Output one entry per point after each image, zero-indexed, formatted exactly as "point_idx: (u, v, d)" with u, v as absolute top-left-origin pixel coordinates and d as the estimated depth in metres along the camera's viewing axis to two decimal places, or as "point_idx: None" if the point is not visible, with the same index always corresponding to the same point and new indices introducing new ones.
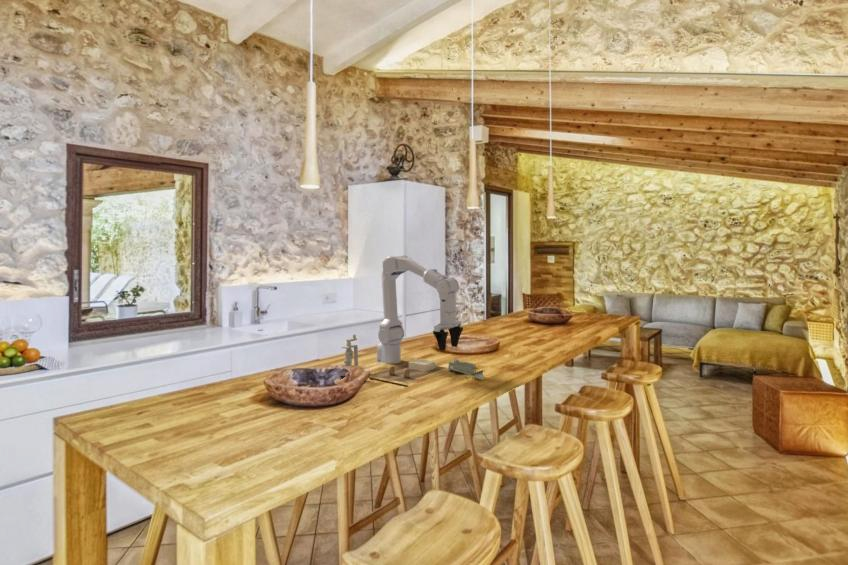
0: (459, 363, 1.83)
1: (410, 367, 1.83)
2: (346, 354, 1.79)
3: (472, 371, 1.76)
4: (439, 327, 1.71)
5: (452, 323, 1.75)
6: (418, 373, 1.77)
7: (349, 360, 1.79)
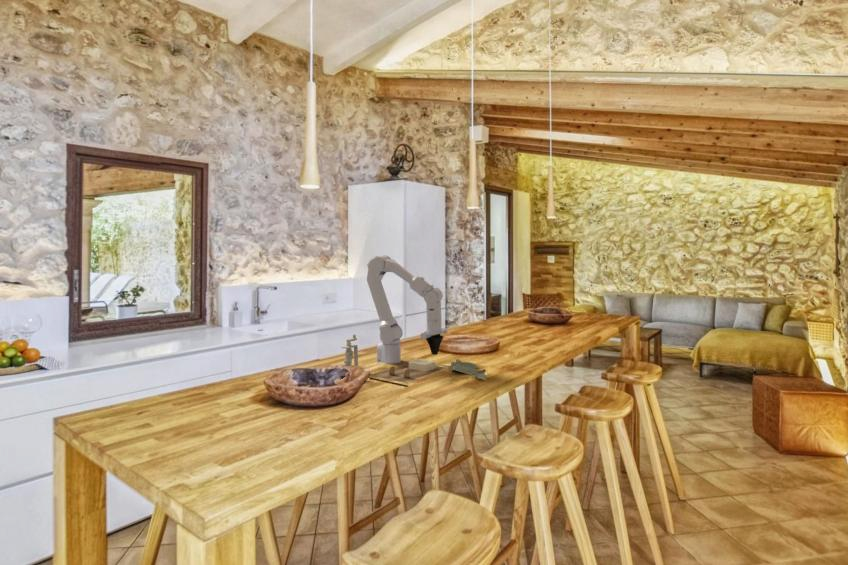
0: (461, 363, 1.83)
1: (410, 367, 1.83)
2: (346, 354, 1.79)
3: (474, 371, 1.75)
4: (425, 334, 1.83)
5: (438, 331, 1.86)
6: (418, 373, 1.77)
7: (349, 360, 1.79)
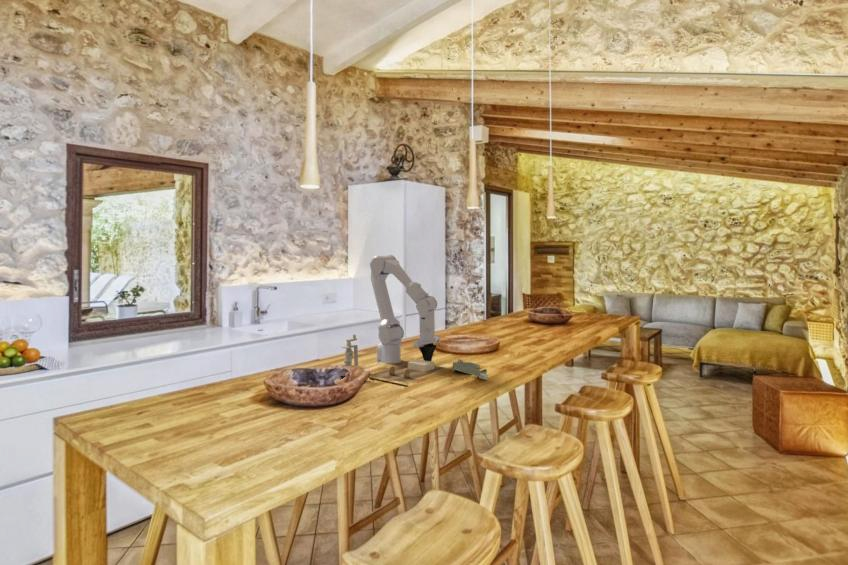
0: (463, 363, 1.83)
1: (409, 367, 1.83)
2: (346, 354, 1.79)
3: (476, 371, 1.75)
4: (418, 344, 1.80)
5: (431, 340, 1.83)
6: (418, 373, 1.77)
7: (349, 360, 1.79)
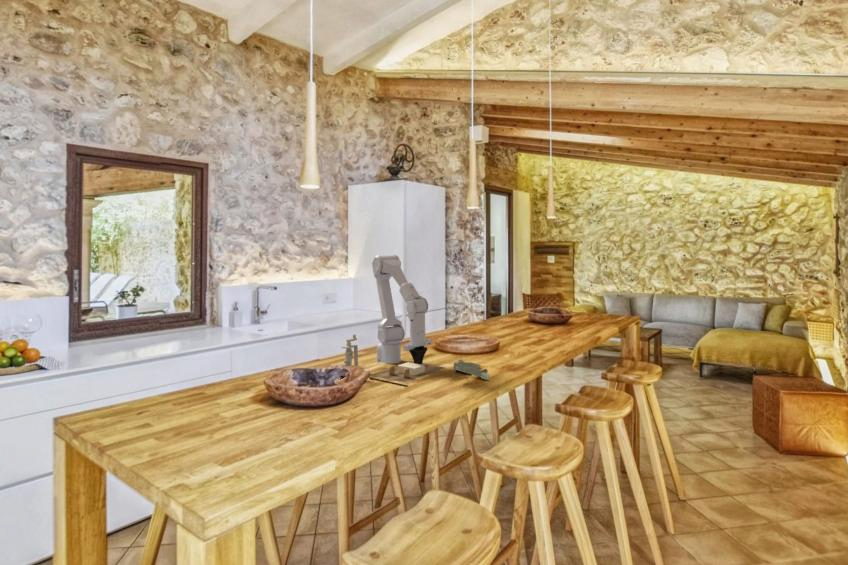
0: (464, 363, 1.82)
1: (399, 371, 1.78)
2: (346, 354, 1.79)
3: (478, 371, 1.75)
4: (408, 347, 1.75)
5: (421, 342, 1.79)
6: None
7: (349, 360, 1.79)
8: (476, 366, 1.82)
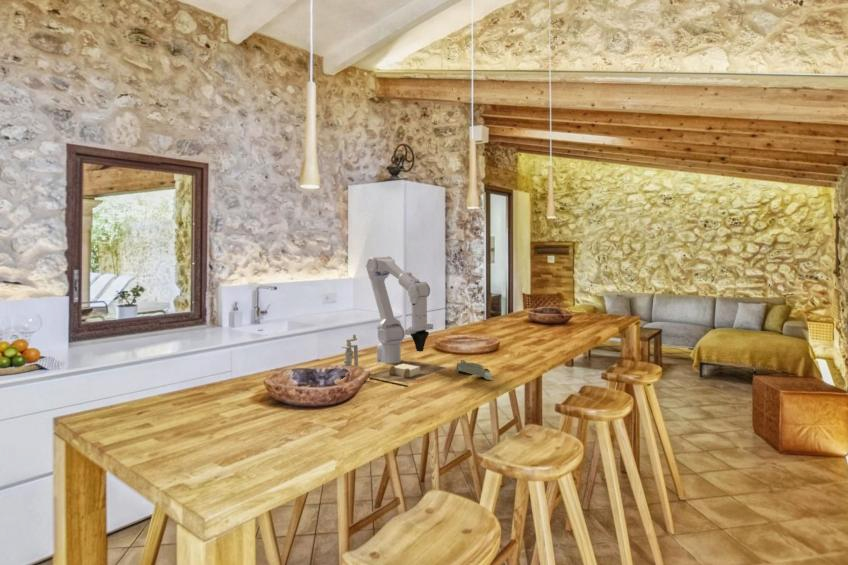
0: (466, 364, 1.82)
1: None
2: (346, 354, 1.79)
3: (481, 372, 1.74)
4: (410, 330, 1.76)
5: (423, 326, 1.79)
6: None
7: (349, 360, 1.79)
8: (478, 366, 1.82)
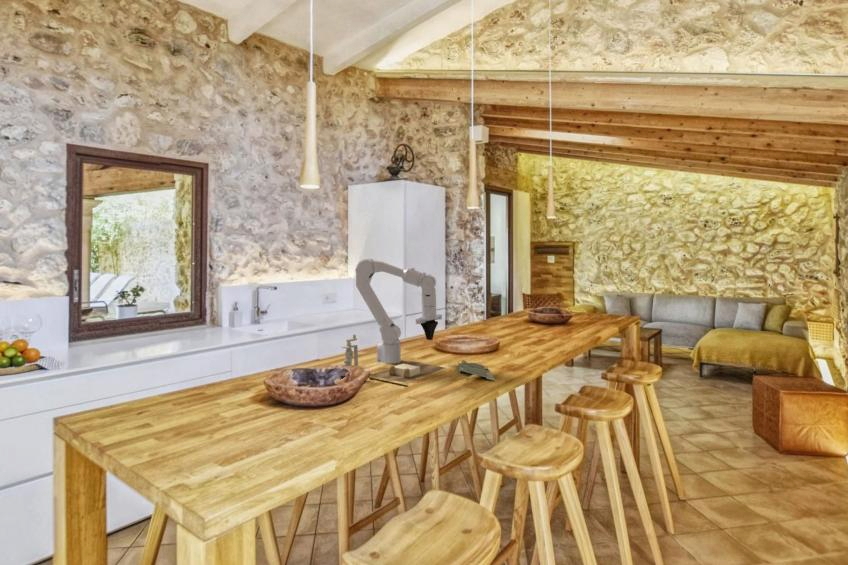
0: (467, 364, 1.81)
1: None
2: (346, 354, 1.79)
3: (483, 372, 1.74)
4: (420, 320, 1.87)
5: (432, 316, 1.90)
6: None
7: (349, 360, 1.79)
8: (479, 367, 1.81)
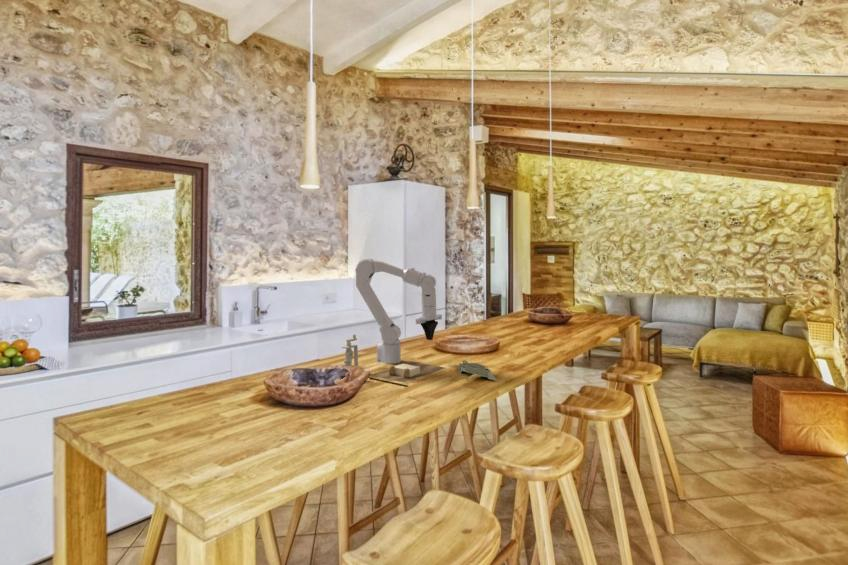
0: (468, 364, 1.81)
1: None
2: (346, 354, 1.79)
3: (484, 372, 1.74)
4: (420, 320, 1.87)
5: (432, 316, 1.90)
6: None
7: (349, 360, 1.79)
8: (480, 367, 1.81)
